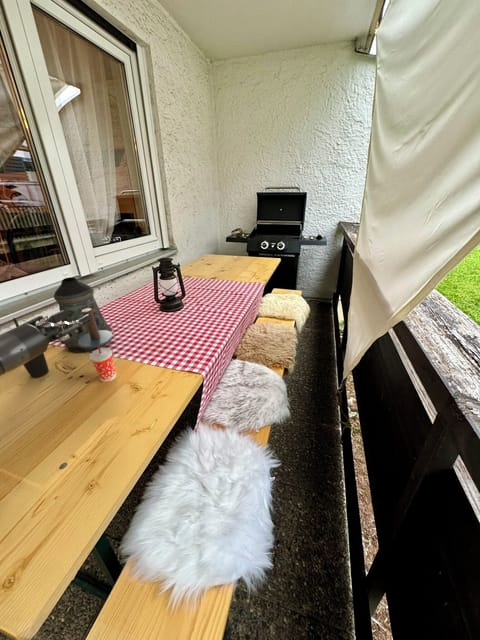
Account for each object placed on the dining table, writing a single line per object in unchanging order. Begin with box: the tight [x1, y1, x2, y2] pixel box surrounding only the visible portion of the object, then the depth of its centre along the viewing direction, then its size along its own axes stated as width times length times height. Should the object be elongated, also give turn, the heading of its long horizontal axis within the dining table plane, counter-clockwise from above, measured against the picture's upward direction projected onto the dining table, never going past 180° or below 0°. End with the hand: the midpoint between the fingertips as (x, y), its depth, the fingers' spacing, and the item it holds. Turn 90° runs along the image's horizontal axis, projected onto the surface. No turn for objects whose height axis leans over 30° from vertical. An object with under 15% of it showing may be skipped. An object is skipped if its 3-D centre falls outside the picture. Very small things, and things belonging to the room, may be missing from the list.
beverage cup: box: [88, 347, 117, 383], centre depth 78 cm, size 6×6×14 cm
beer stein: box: [53, 276, 113, 354], centre depth 95 cm, size 16×19×25 cm
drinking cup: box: [12, 317, 50, 379], centre depth 79 cm, size 8×8×20 cm
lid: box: [78, 308, 114, 348], centre depth 73 cm, size 9×9×10 cm
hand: (77, 315), depth 68 cm, fingers open, 8 cm apart
